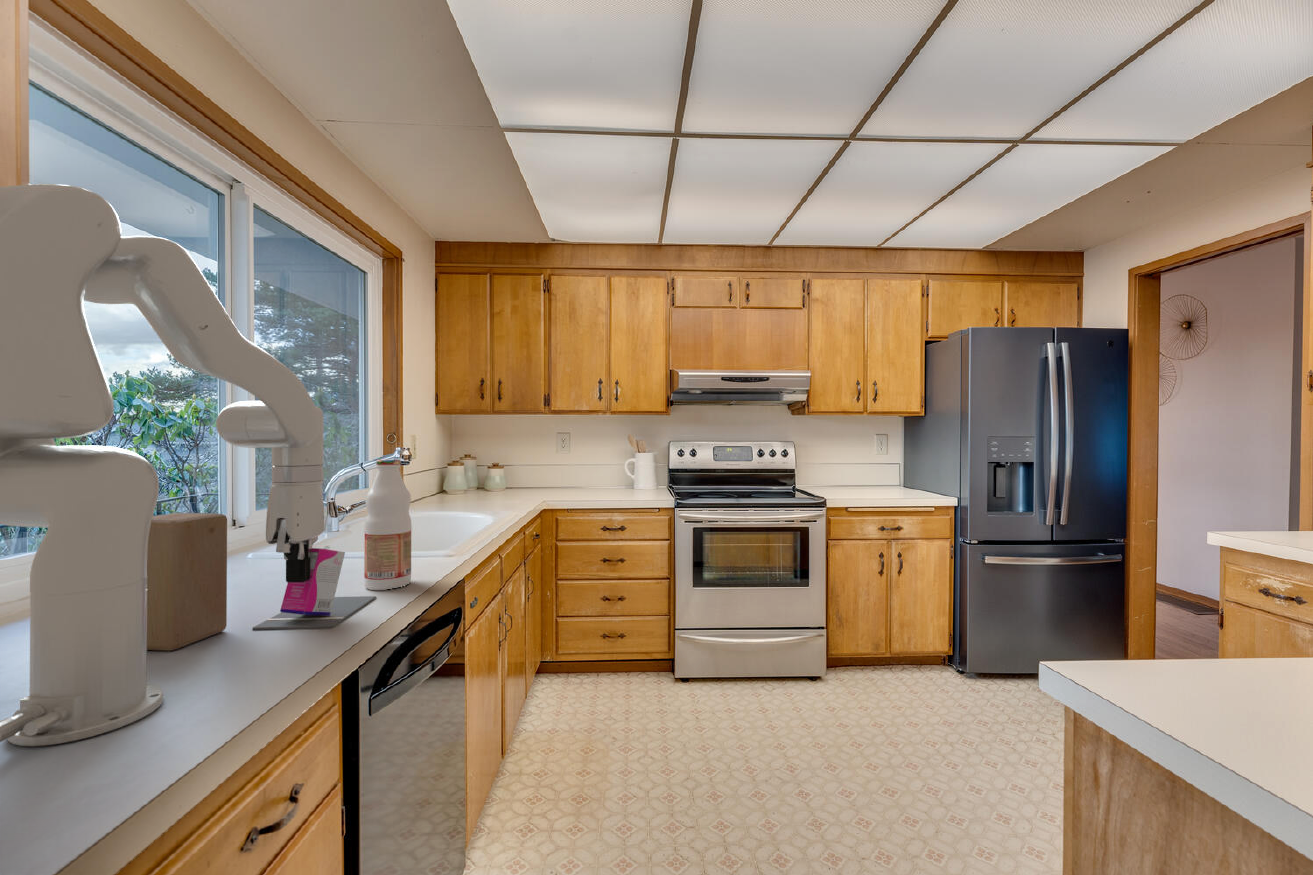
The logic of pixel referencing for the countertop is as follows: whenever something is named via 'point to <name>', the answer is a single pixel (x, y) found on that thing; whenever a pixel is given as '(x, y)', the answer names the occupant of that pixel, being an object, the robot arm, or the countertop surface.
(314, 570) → the supplement box
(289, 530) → the robot arm
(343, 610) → the mat
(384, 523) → the fruit juice
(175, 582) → the wooden block
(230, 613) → the countertop surface
